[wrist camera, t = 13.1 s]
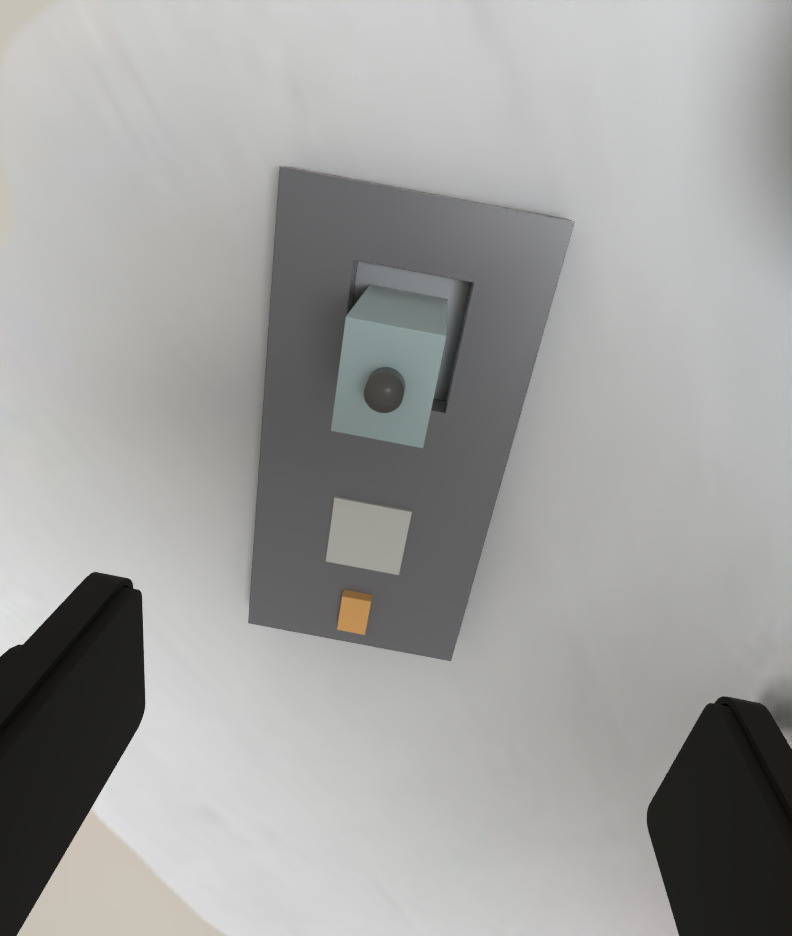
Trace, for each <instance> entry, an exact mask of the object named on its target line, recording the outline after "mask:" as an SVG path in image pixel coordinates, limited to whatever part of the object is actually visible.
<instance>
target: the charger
mask: <svg viewBox="0 0 792 936" xmlns="http://www.w3.org/2000/svg"><path fill="white" fill-rule="evenodd" d="M446 337H447V299H443V298H438V297H433V296H428V295H422V294H417V293H412V292H407V291H401V290H396V289H391V288H386V287H380V286H375V285H369V286H368V288H367V289H366V290H365V292H364V293H363V294H362V296H361V297H360V299H359V300H358V301H357V303H356V304H355V305H354V307H353V308H352V309H351V311H350V312H349V313H348V315H347V316H346V319H345V327H344V335H343V342H342V350H341V358H340V365H339V373H338V380H337V388H336V396H335V403H334V411H333V419H332V426H331V431H335V432H340V433H346V434H351V435H356V436H362V437H367V438H372V439H377V440H383V441H388V442H393V443H398V444H404V445H409V446H414V447H419V448H423V446H424V441H425V436H426V432H427V427H428V422H429V418H430V413H431V408H432V403H433V399H434V394H435V389H436V384H437V380H438V375H439V370H440V365H441V361H442V356H443V351H444V347H445V342H446Z"/></svg>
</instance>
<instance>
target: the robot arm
mask: <svg viewBox="0 0 792 936" xmlns="http://www.w3.org/2000/svg"><path fill="white" fill-rule="evenodd" d="M144 710H145V680H144V648H143V615H142V594H141V592H140V590H137V589H133V583H132V581H131V580H130V579H128V578H123V577H118V576H113V575H108V574H103V573H98V572H94V573H91V574H90V575H89V576H87V577H86V578H85V579H84V580H83V581H82V583H81V584H80V585H79V586H78V587H77V588H76V589H75V590H74V591H73V592H72V593H71V594H70V595H69V596H68V597H67V598H66V600H65V601H64V602H63V603H62V604H61V605H60V606H59V607H58V608H57V609H56V610H55V611H54V612H53V613H52V614H51V616H50V617H49V618H48V619H47V620H46V621H45V622H44V623H43V624H42V625H41V626H40V627H39V628H38V629H37V630H36V632H35V633H34V634H33V635H32V636H31V637H30V638H29V639H28V640H27V641H26V642H25V643H24V644H23V645H17V646H15V647H12V648H10V649H9V650H8V651H7V652H5V653H4V654H3V655H2V656H1V657H0V936H17V934H18V932H19V930H20V929H21V927H22V925H23V924H24V922H25V920H26V918H27V917H28V915H29V913H30V912H31V910H32V908H33V907H34V905H35V903H36V901H37V900H38V898H39V896H40V895H41V893H42V891H43V889H44V888H45V886H46V884H47V883H48V881H49V879H50V877H51V876H52V874H53V872H54V871H55V869H56V867H57V866H58V864H59V862H60V860H61V859H62V857H63V855H64V854H65V852H66V850H67V848H68V847H69V845H70V843H71V842H72V840H73V838H74V836H75V835H76V833H77V831H78V830H79V828H80V826H81V824H82V823H83V821H84V819H85V818H86V816H87V814H88V813H89V811H90V809H91V807H92V806H93V804H94V802H95V801H96V799H97V797H98V795H99V794H100V792H101V790H102V789H103V787H104V785H105V784H106V782H107V780H108V778H109V777H110V775H111V773H112V772H113V770H114V768H115V766H116V765H117V763H118V761H119V760H120V758H121V756H122V754H123V753H124V751H125V749H126V748H127V746H128V744H129V743H130V741H131V739H132V737H133V736H134V734H135V732H136V731H137V729H138V727H139V725H140V723H141V720H142V717H143V714H144ZM647 826H648V831H649V834H650V838H651V841H652V845H653V848H654V851H655V855H656V858H657V862H658V865H659V868H660V872H661V875H662V879H663V882H664V885H665V889H666V892H667V896H668V899H669V902H670V906H671V909H672V913H673V916H674V919H675V923H676V926H677V930H678V933H679V936H792V749H791V748H790V746H789V744H788V743H787V741H786V739H785V737H784V736H783V734H782V732H781V731H780V729H779V727H778V726H777V724H776V722H775V720H774V719H773V717H772V715H771V714H770V712H769V711H768V709H767V708H766V707H765V706H764V705H762V704H760V703H756V702H751V701H746V700H741V699H736V698H731V697H724V696H723V697H721V698H719V699H718V700H717V701H716V702H715V703H714V704H713V703H710V704H708V705H706V707H705V708H704V710H703V711H702V713H701V715H700V717H699V718H698V720H697V722H696V724H695V725H694V727H693V729H692V731H691V732H690V734H689V736H688V738H687V739H686V741H685V743H684V745H683V746H682V748H681V750H680V752H679V753H678V755H677V757H676V759H675V760H674V762H673V764H672V766H671V767H670V769H669V771H668V773H667V774H666V776H665V778H664V780H663V782H662V783H661V785H660V787H659V789H658V790H657V792H656V794H655V796H654V797H653V799H652V801H651V803H650V805H649V807H648V811H647Z"/></svg>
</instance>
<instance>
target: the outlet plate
mask: <svg viewBox="0 0 792 936" xmlns="http://www.w3.org/2000/svg"><path fill="white" fill-rule="evenodd" d="M573 226H574V221H571V220H568V219H563V218H558V217H553V216H547V215H542V214H537V213H531V212H526V211H521V210H515V209H510V208H505V207H499V206H494V205H489V204H483V203H478V202H473V201H467V200H462V199H457V198H451V197H446V196H440V195H435V194H430V193H424V192H419V191H414V190H408V189H403V188H398V187H392V186H387V185H382V184H376V183H371V182H366V181H360V180H355V179H350V178H344V177H339V176H334V175H328V174H323V173H318V172H312V171H307V170H302V169H296V168H291V167H280V170H279V184H278V199H277V213H276V228H275V242H274V257H273V271H272V286H271V300H270V315H269V329H268V344H267V358H266V373H265V387H264V402H263V416H262V431H261V445H260V460H259V475H258V489H257V504H256V518H255V533H254V547H253V562H252V576H251V591H250V605H249V620H248V623H251V624H256V625H261V626H267V627H272V628H277V629H283V630H288V631H293V632H299V633H304V634H309V635H315V636H320V637H325V638H331V639H336V640H341V641H347V642H352V643H357V644H363V645H368V646H373V647H379V648H384V649H389V650H395V651H400V652H405V653H411V654H416V655H421V656H427V657H432V658H437V659H443V660H448V661H451V659H452V655H453V652H454V648H455V644H456V641H457V637H458V634H459V630H460V627H461V623H462V620H463V616H464V612H465V609H466V605H467V602H468V598H469V595H470V591H471V588H472V584H473V581H474V577H475V573H476V570H477V566H478V563H479V559H480V556H481V552H482V549H483V545H484V542H485V538H486V534H487V531H488V527H489V524H490V520H491V517H492V513H493V510H494V506H495V502H496V499H497V495H498V492H499V488H500V485H501V481H502V478H503V474H504V471H505V467H506V463H507V460H508V456H509V453H510V449H511V446H512V442H513V439H514V435H515V432H516V428H517V424H518V421H519V417H520V414H521V410H522V407H523V403H524V400H525V396H526V392H527V389H528V385H529V382H530V378H531V375H532V371H533V368H534V364H535V361H536V357H537V353H538V350H539V346H540V343H541V339H542V336H543V332H544V329H545V325H546V322H547V318H548V314H549V311H550V307H551V304H552V300H553V297H554V293H555V290H556V286H557V282H558V279H559V275H560V272H561V268H562V265H563V261H564V258H565V254H566V251H567V247H568V243H569V240H570V236H571V233H572V229H573ZM358 261H361V262H367V263H372V264H377V265H383V266H388V267H393V268H399V269H404V270H409V271H415V272H420V273H425V274H431V275H436V276H441V277H447V278H452V279H457V280H463V281H468V282H472V284H471V288H470V293H469V297H468V302H467V307H466V311H465V316H464V320H463V325H462V329H461V334H460V339H459V343H458V348H457V352H456V357H455V362H454V366H453V371H452V375H451V380H450V385H449V389H448V394H447V398H446V402H445V401H440V400H434V399H433V403H432V408H431V413H430V418H429V422H428V427H427V432H426V436H425V441H424V446H423V448H419V447H414V446H409V445H404V444H398V443H393V442H388V441H383V440H377V439H372V438H367V437H362V436H356V435H351V434H346V433H340V432H335V431H331V426H332V419H333V411H334V403H335V396H336V388H337V380H338V373H339V365H340V358H341V350H342V342H343V335H344V327H345V319H346V316H347V315H348V313H349V312H350V311H351V309H352V302H353V295H354V287H355V279H356V272H357V264H358Z"/></svg>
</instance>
